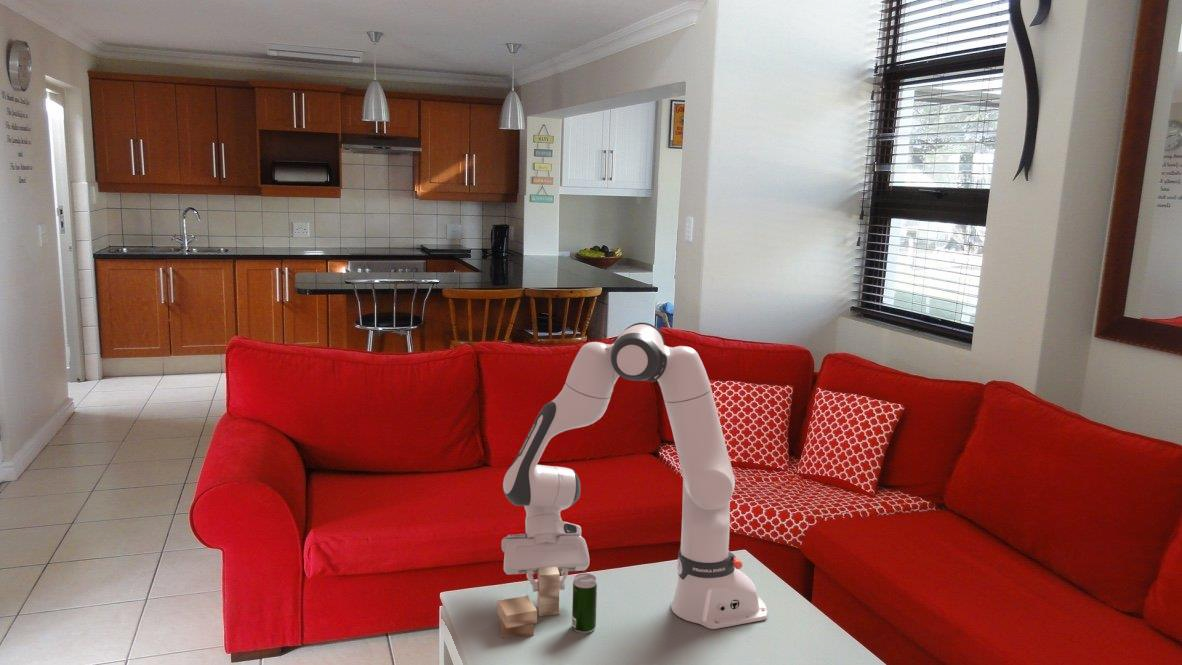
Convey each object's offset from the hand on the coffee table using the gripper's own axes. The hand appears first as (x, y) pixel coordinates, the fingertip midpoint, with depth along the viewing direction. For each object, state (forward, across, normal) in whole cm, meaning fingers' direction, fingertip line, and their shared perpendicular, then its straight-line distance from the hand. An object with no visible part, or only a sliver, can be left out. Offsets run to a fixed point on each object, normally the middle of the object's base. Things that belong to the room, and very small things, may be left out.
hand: (548, 590), depth 194 cm
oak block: (+7, -8, -3) cm, 11 cm away
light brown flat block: (+9, -8, 0) cm, 12 cm away
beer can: (+10, +7, -2) cm, 12 cm away
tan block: (+3, 0, +4) cm, 5 cm away
